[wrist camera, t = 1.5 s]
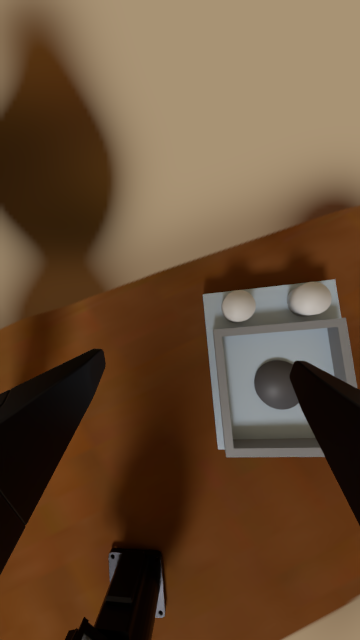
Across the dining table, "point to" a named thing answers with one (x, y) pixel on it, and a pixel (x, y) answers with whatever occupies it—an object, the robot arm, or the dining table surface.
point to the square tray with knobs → (271, 363)
